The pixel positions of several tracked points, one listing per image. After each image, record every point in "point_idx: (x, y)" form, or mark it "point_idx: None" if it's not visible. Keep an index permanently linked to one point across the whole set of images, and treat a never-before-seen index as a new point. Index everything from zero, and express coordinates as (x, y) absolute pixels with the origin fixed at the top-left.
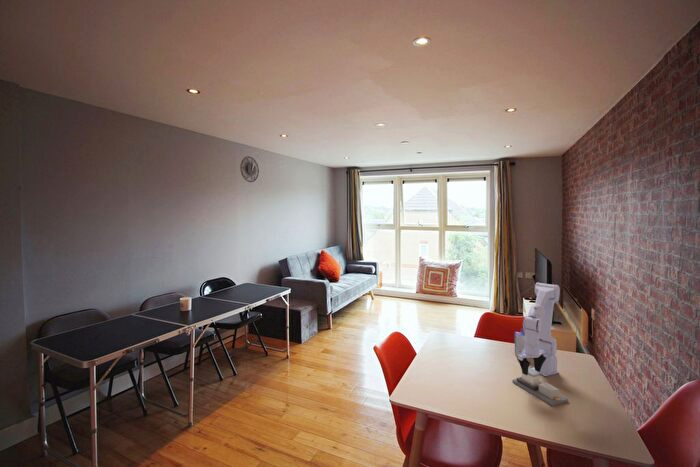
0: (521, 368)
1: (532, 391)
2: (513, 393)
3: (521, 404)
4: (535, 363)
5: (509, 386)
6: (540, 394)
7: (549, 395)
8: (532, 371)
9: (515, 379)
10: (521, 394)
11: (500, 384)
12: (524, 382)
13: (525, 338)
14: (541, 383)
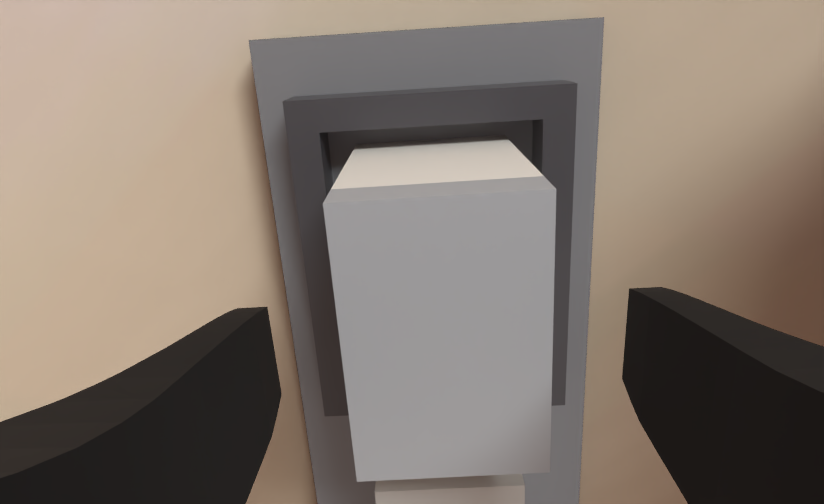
0: (170, 353)
1: (301, 393)
2: (72, 293)
3: None
4: (721, 382)
5: (126, 134)
6: (345, 467)
7: None
8: (473, 369)
9: (304, 54)
10: (164, 339)
11: (14, 38)
12: (305, 262)
13: None
14: (425, 497)
